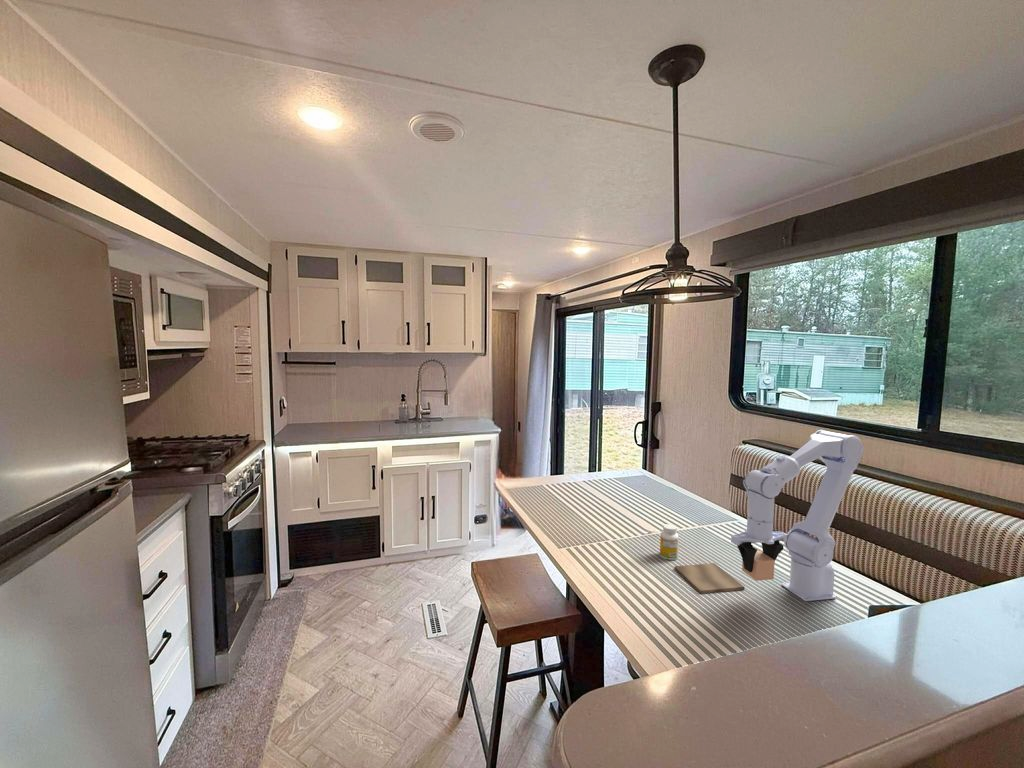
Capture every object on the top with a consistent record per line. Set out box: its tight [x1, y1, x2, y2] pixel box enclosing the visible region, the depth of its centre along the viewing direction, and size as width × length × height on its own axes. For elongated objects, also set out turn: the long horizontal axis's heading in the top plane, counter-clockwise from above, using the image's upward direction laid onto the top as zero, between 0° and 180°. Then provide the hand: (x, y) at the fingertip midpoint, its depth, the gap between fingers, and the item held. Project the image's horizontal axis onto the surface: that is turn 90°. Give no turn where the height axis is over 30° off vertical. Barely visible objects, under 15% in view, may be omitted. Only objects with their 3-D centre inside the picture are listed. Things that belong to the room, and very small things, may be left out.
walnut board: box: [673, 562, 746, 594], centre depth 118 cm, size 13×13×1 cm
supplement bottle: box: [659, 523, 680, 561], centre depth 131 cm, size 5×5×10 cm
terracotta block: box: [741, 550, 776, 582], centre depth 107 cm, size 5×5×5 cm
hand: (757, 569), depth 107 cm, fingers closed on terracotta block, 5 cm apart
